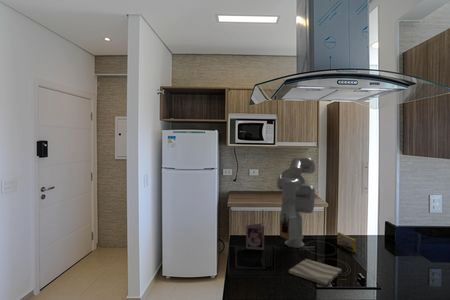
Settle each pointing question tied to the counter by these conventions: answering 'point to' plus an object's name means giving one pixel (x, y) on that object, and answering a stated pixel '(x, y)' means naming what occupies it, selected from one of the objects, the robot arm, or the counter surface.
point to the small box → (289, 228)
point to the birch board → (315, 271)
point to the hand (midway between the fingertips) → (288, 230)
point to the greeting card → (255, 236)
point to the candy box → (346, 242)
